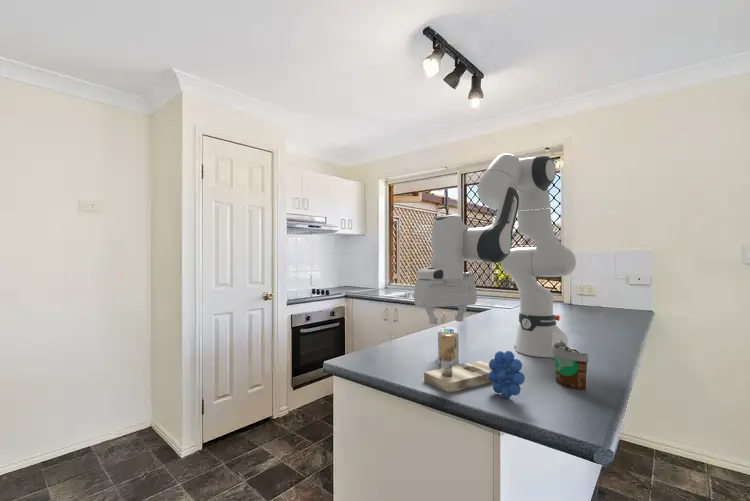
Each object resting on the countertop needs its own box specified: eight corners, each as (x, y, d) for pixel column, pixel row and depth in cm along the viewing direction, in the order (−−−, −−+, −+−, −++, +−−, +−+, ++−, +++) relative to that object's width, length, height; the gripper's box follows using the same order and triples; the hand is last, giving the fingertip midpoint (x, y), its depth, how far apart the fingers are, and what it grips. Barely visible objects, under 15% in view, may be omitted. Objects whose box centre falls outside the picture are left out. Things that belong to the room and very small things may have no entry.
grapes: (537, 404, 84) (537, 354, 84) (515, 409, 81) (515, 357, 81) (502, 387, 94) (502, 342, 94) (482, 391, 92) (482, 345, 92)
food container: (543, 375, 104) (543, 342, 104) (564, 376, 104) (564, 342, 104) (564, 392, 91) (564, 353, 92) (588, 392, 91) (588, 353, 91)
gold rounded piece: (447, 371, 100) (447, 332, 100) (458, 376, 96) (458, 335, 96) (435, 374, 97) (435, 334, 98) (446, 378, 94) (446, 337, 94)
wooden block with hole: (479, 368, 110) (479, 360, 110) (505, 378, 101) (505, 369, 101) (424, 381, 99) (424, 371, 99) (448, 393, 90) (448, 382, 90)
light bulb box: (458, 366, 112) (458, 333, 112) (437, 365, 113) (437, 332, 114) (457, 357, 123) (457, 326, 123) (438, 356, 124) (438, 325, 124)
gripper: (465, 271, 105) (465, 318, 105) (410, 272, 95) (410, 323, 94) (482, 272, 100) (481, 321, 99) (425, 273, 89) (425, 327, 89)
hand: (446, 322), depth 97 cm, fingers open, 8 cm apart
